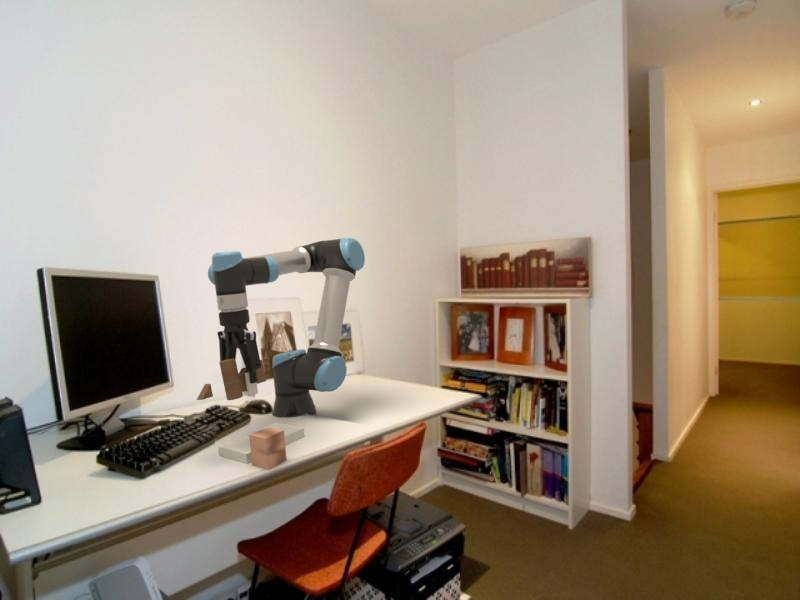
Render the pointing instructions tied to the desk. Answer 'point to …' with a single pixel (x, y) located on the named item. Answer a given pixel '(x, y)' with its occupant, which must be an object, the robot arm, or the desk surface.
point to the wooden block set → (232, 380)
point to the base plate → (241, 445)
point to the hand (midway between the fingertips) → (243, 393)
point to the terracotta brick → (267, 448)
